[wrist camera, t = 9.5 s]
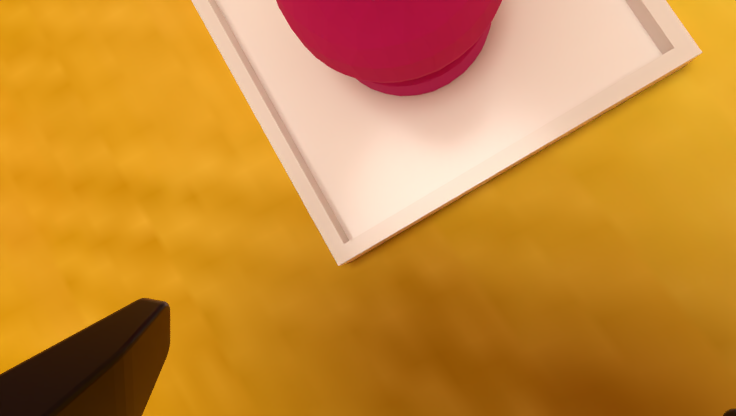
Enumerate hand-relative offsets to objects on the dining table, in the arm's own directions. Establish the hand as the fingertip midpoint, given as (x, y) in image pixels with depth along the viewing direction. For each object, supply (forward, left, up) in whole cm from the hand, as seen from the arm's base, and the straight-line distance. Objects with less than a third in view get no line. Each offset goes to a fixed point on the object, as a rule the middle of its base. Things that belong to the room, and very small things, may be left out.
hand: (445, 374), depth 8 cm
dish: (+10, -3, -12) cm, 16 cm away
